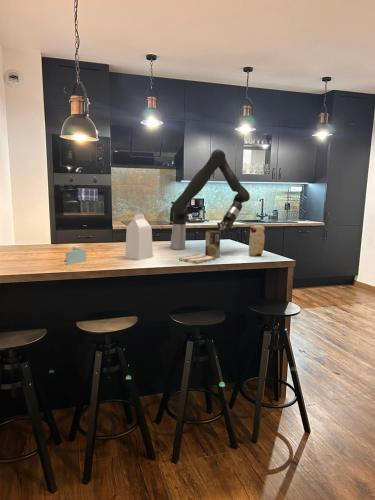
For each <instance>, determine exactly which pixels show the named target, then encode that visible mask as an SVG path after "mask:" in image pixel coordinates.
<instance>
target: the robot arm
mask: <svg viewBox="0 0 375 500" xmlns="http://www.w3.org/2000/svg"><path fill="white" fill-rule="evenodd" d="M217 169H219V170H220V171H221V174H222V175H223V177H224V179H225V181H226V182H227V185H228V186H229V188H230V190H231V191H232V192H234V193H235V192H236V194H234V197H233V201H232V204H231V205H230V207H229V208H228V209H227V211H226V213H225V214H224V216H223V218H222V220H221V221H220V222H216V223H217V229H218V231H220V237H222V236H223V235H224V234H225V232H226V233H228V232H229V231H231V230H233V229H235V226H234V223H235V222H236V220H237V218H238V217H239V214H240V212H241V211H242V208H243V203H246V202H249V200H250V199H251V195H250V192H249V191H248V190H247V189H246V188H245V187H244V186H243V185H242V184H241V182H240V180H239V179H238V177H237V176H236V174H235V173H234V171H233V170H232V169H231V167H230V164H229V163H228V161H227V158H226V153H225V152H224V151H223V150H222V149H220V148H218V149H217V148H216V149H215V150H213V151H212V152H211V154H210V157H209V158H208V160H207V162H206V163H205V164H204V165H203V167H201V169H200V170H199V171H198V172H196V174H195V175H194V176H193V177H192V179H191V180H190V181H189V182H188V184H187V186H186V187H185V188H184V190H183V192H182V193H181V194H180V195H179V196H178V198H177V199H176V200H175V201H174V202H173V203H172V205H171V211H172V213H173V219H172V223H171V224H172V228H171V230H172V232H171V233H172V234H170V248H171V249H172V250H185V249H186V230H187V229H186V228H187V225H186V224H187V215H188V204H189V203H190V202H191V201H192V200H193V198H195V197H196V196H197V195H198V194H200V192H201V191H202V190H203V189H204V187H205V186H206V185H207V183H209V180H210V179H211V177H212V175H213V174H214V173H215V171H216V170H217Z"/></svg>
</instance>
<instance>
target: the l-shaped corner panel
mask: <svg viewBox="0 0 375 500" xmlns="http://www.w3.org/2000/svg"><path fill="white" fill-rule="evenodd" d="M64 262H65V263H66V266H68V265H74V264H79V263H81V264H82V263H85V262H87V249H86V248H80V247H77V246H72V248H71V250H70V251H65V258H64Z"/></svg>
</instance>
